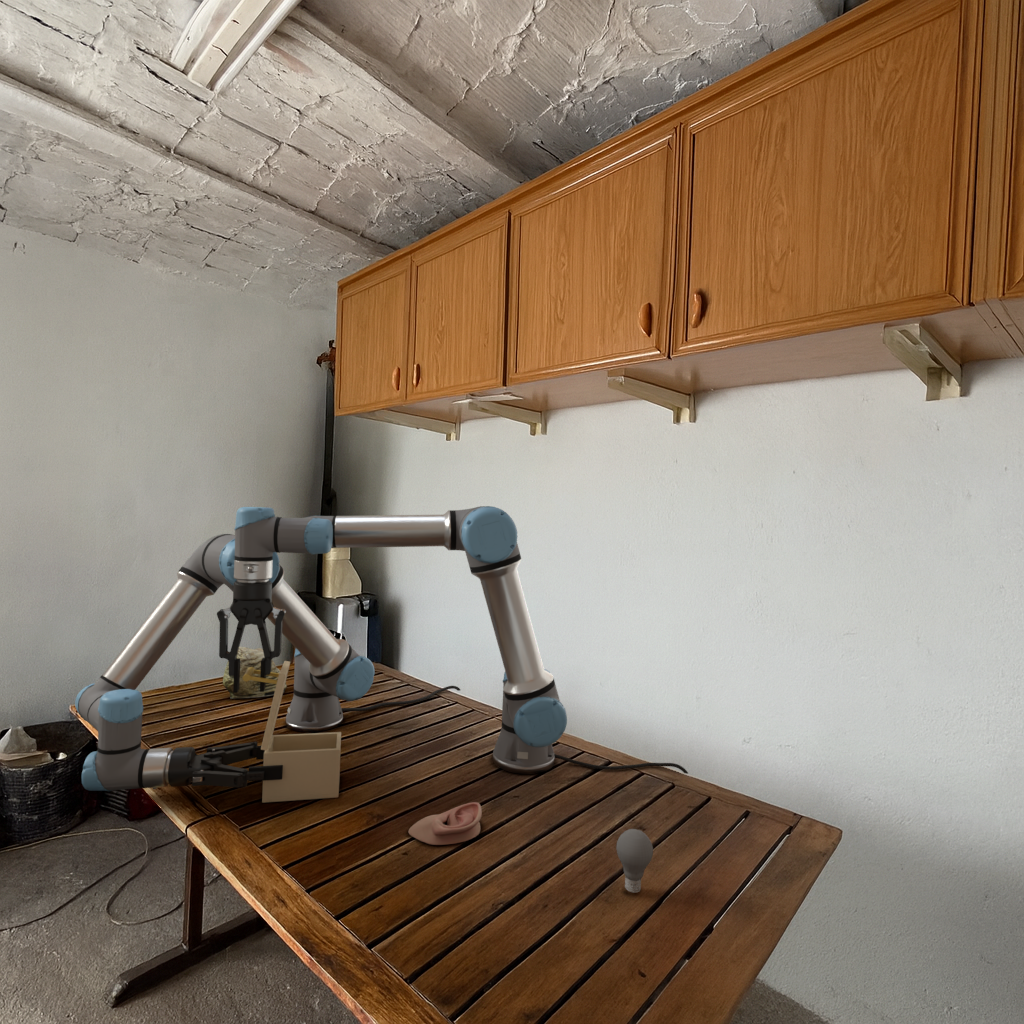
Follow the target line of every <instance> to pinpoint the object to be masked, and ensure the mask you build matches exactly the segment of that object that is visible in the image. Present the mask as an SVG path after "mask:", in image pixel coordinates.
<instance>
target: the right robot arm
mask: <svg viewBox="0 0 1024 1024" xmlns="http://www.w3.org/2000/svg"><path fill="white" fill-rule="evenodd" d="M235 515H236V516H235V525H234V528H233V529H234V535H235V560H234V578H235V579H237V580H236V581H235V582H234V584H233V591H232V602H231V604H230V606H229V607H227V608H221V609H219V610H218V611H217V612H216V616H217V620H218V622H219V637H218V638H219V641H218V642H219V643H218V645H219V646H218V647H219V648H218V656H219V658H220V659H224V660H227V662H228V661H229V671H228V674H229V676H234V684H233V693H237V692H238V690H239V686H240V658H236V657H237V653H238V649H239V647H241V642H242V639H243V635H244V632H245V628H246V626H248V625H252V626H253V625H254V626H256V627H257V630H258V635H259V638H260V642H261V643H260V644H261V649H263V653H264V657H265V658H262V660H261V673H260V677H261V678H266V675H270V673H271V668H272V660H273V659H275V658H278V657H280V655H281V653H282V641H283V634H282V620H283V618H284V615H285V613H286V610H285V609H278V608H276V607H274V605H273V603H272V600H271V599H272V582H271V581H269V579H271V578H272V568H273V552H276V553H277V554H278V553H287V554H288V553H289V554H311V555H319V554H321V555H322V554H328V553H329V552H331V550H332V549H346V548H347V549H349V548H351V549H352V548H353V549H354V548H415V547H417V548H418V547H419V548H420V547H424V548H425V547H445V549H446V550H448V551H461V552H465V556H466V559H467V563H468V567H469V570H470V573H471V575H472V576H475V577H476V578H478V579H479V581H480V584H481V588H482V592H483V596H484V599H485V602H486V606H487V610H488V614H489V617H490V621H491V625H492V628H493V632H494V635H495V640H496V642H497V646H498V650H499V653H500V658H501V661H502V664H503V669H504V673H503V680H502V683H503V687H502V688H503V689H502V708H501V709H502V710H501V728H500V732H499V734H498V737H497V740H496V743H495V745H494V748H493V751H492V762H493V764H494V765H495V766H496V767H497V768H499V769H501V770H504V771H506V772H510V773H514V774H521V775H534V774H540V773H545V772H547V771H549V770H551V769H552V768H553V767H554V766H555V760H556V759H559V760H562V761H565V762H568V763H571V764H574V765H578V766H582V767H586V768H589V769H596V770H603V771H604V770H605V771H606V770H607V771H617V770H630V769H639V768H646V767H672V768H676V769H679V770H680V771H681V772H683V773H684V774H687V775H688V774H689V772H688V770H687V769H686V768H685V767H683V766H682V765H680V764H678V763H673V762H642V763H636V764H625V765H614V766H613V765H611V766H610V765H598V764H592V763H587V762H583V761H579V760H576V759H571V758H569V757H567V756H563V755H559V754H556V753H555V751H554V747H553V744H555V743H556V742H557V741H558V740H559V739H560V738H561V737H562V736H563V734H564V733H565V730H566V728H567V724H568V715H567V711H566V707H565V706H564V704H563V703H562V702H561V699H560V696H559V693H558V688H557V685H556V681H555V678H554V675H553V673H552V672H551V671H550V670H548V669H546V668H545V667H544V663H543V660H542V656H541V652H540V649H539V645H538V644H539V643H538V641H537V637H536V634H535V630H534V626H533V622H532V618H531V615H530V610H529V608H528V604H527V601H526V600H527V599H526V596H525V593H524V589H523V586H522V582H521V578H520V574H519V570H518V568H519V566H520V564H521V562H522V561H523V560H522V556H521V552H520V547H519V545H518V544H519V543H518V538H519V537H518V529H517V525H516V523H515V521H514V519H513V518H512V517H511V516H510V515H509V514H508V513H507V512H506V511H505V510H503V509H502V508H499V507H495V506H490V505H485V506H484V505H483V506H482V505H480V506H476V507H472V508H465V509H455V510H454V509H453V510H450V509H449V510H447V511H446V512H445V513H443V514H390V515H389V514H388V515H387V514H385V515H382V514H379V515H377V514H375V515H318V514H317V515H315V514H314V515H309V516H305V517H282V516H276V514H275V510H274V508H273V507H264V506H241V507H239V508H238V509H237V510H236V514H235ZM271 612H273V614H274V618H275V619H276V622H275V625H274V638H273V640H274V642H273V650H272V646H271V643H270V638H269V634H268V629H267V622H266V619H268V618H267V617H268V616H269V614H270V613H271ZM231 613H232V615H233V616H234V617H235V619H236V620H237V621H238V622H237V626H236V629H235V633H234V637H233V640H232V644H231V647H230V651H229V618H230V617H231ZM265 687H266V682H260V692H264V690H265Z"/></svg>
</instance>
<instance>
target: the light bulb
mask: <svg viewBox="0 0 1024 1024" xmlns="http://www.w3.org/2000/svg"><path fill="white" fill-rule="evenodd" d="M615 849H616V854H617V857H618V859H619V861H620V863H621V865H622V867H623V873H624V874H623V875H624V876H625V878H624V888H625V890H627V891H628V892H630V893H634V894H635V893H639V892H640V891H641V889H642V887H641V886H642V879H643V877H644V875H645V871H646V868H647V867H648V866H649V864H650V863H651V861H652V859H653V855H654V847H653V843H652V841H651V838H649V836H648V835H647V834H646V833H645V832H643V831H642V830H641V829H636V828H629V829H627V830H625V831H623V832H622V833H621V834H620V835H619V837H618V839H617V841H616V847H615Z"/></svg>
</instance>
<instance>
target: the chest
mask: <svg viewBox="0 0 1024 1024" xmlns="http://www.w3.org/2000/svg"><path fill="white" fill-rule="evenodd" d="M341 747H342V732H341V731H335V732H334V731H333V732H309V733H290V734H273V735H272V738H271V741H270V744H269V747H268V749H267V750H265V752H264V759H263V765H262V766H273V765H283V772H282V779H281V780H264V781H262V792H261V793H262V796H261V803H276V802H290V801H304V800H305V801H306V800H319V799H320V800H321V799H334V798H339V795H340V793H339V792H340V777H341V776H340V773H341Z"/></svg>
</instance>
